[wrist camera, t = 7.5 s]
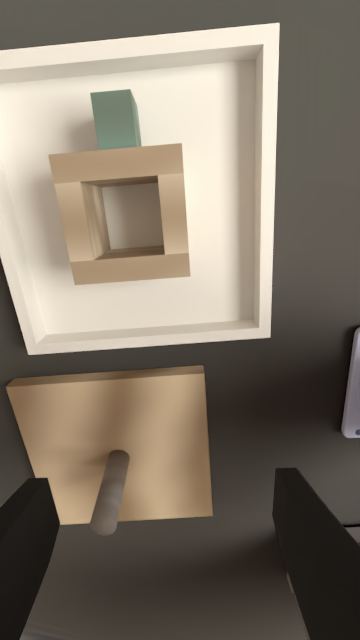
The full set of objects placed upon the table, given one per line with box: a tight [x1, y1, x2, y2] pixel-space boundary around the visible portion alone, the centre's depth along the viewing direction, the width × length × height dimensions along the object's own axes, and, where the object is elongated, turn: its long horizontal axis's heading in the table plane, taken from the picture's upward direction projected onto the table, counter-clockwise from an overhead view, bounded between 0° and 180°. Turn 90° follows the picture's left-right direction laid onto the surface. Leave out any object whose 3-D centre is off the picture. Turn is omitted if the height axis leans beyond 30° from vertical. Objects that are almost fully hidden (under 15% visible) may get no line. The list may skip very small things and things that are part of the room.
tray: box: [0, 23, 280, 355], centre depth 15 cm, size 13×13×2 cm
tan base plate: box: [6, 365, 213, 535], centre depth 18 cm, size 12×12×6 cm
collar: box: [48, 89, 190, 285], centre depth 13 cm, size 7×5×3 cm
